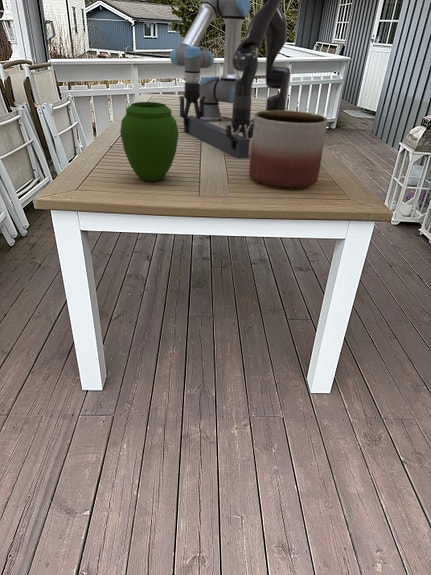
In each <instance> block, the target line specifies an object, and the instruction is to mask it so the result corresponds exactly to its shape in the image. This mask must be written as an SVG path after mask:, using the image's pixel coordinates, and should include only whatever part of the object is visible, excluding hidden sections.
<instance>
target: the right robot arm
mask: <svg viewBox="0 0 431 575" xmlns="http://www.w3.org/2000/svg"><path fill="white" fill-rule="evenodd" d="M282 1H283V0H262V4H263V5H262V6H261V7H260V9H258V11H257V12H255V14H254V15H253V16H252V18H251V20H250V22H249V24H248V27H247V30H246V32H245V35H244V37H243V39H241V43H240V45H239V46H238V48H237V50H236V51H235V53H234V56H233V61H232V63H233V67H234V69H235V70H237V71H239V72H242V75H241V76H240V77H241V78H239V79H237V80H236V81H235V90H234V99H233V103H232V112H231V113H232V114H231V115H232V116H231V119H233V120H231V123H229V124H227V123H226V124H225V125H224V126H225V130H226V135H227V138H228V139H230V140H231V146H230V147H231V149H233V150H235V145H236V141H235V140H236V137H237V136H238V135H239V134H240V133H241V134H242V137H245V138H247V139H252V138H253V127H254V123H253V122H249V120H251V110H252V92H253V90H252V89H253V83H254V80H255V78H256V74H257V71H258V68H259V59H258V55H257V54H256V53H255V52H253V51H254V50H257V49H259V48H260V47H261V46H262V44H263V41H264V42H265V84H266V87H267V88H269V89H275V90H279V92H278V93H277V94H275V95H274V94H273V95H271V96H268V97H267V98H266V105H265V111H268V110H286V104H287V99H288V91H289V87H290V86H289V85H290V80H291V69H290V67H288V66H276V65H275V61H276V59H277V57H278V56H279V53H280V52H281V51H282V49H283V48H284V46H285V45H286V42H287V38H288V22H287V19H286V16H285V14H284V12H283V10H282V8H281V6H280V4H281V3H282ZM231 132H232V133H231Z"/></svg>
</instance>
